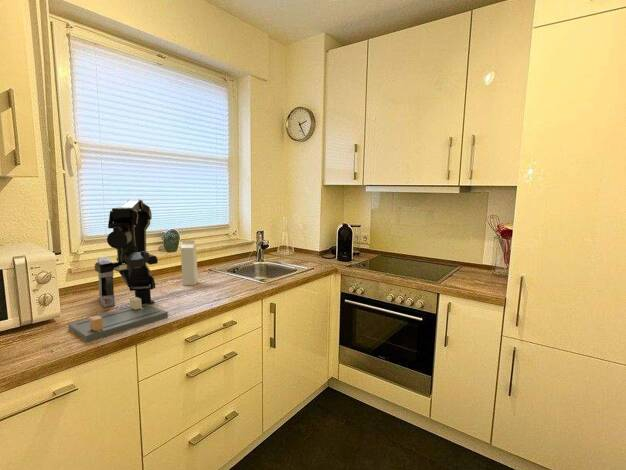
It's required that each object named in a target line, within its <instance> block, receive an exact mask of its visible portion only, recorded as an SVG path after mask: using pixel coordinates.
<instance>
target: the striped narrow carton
mask: <svg viewBox="0 0 626 470" xmlns="http://www.w3.org/2000/svg"><path fill="white" fill-rule="evenodd" d="M103 261H110V262H112V261H111V257H110V256H102V257H101V256H100V257H97V262H103ZM97 274H98V292H99V294H98V296H99V300H100V304H101V307H102V308H110V307H114V306H115V305H116V303H115V293H114V292H115V291H114V289H115V288H114V287H115V286H114V270H113V271H112V272H107V273H99V272H97Z"/></svg>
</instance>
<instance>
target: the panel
mask: <svg viewBox="0 0 626 470" xmlns="http://www.w3.org/2000/svg"><path fill="white" fill-rule="evenodd" d="M168 313H169V312H168V311H166V310H164V309H161V308H159V307H156V306H154V305H152V304H147V303H146V304H142V308H139V309H136V310H135V309H133V308H131V307H127V308H125V309H124V308H123V309H120V310H116V311H112V312H108V313H104V314H100V315H99V316H100V317H101V318H102V319H103V329H100V330H97V331H94V330H92V329H91V328H90V323H89V317H88V318H86V319H81V320H78V321H77V320H76V321H73V322H69V323H68V324H67V325H68V331H70V332H71V333H73V334H75V335H76V336H77V337H78V338H79V339H81V340H83V341H84V342H85V343H88V342H92V341H95V340H98V339H102V338H104V337H108V336H112V335H114V334H118V333H122V332H125V331H127V330H132V329H134V328H138V327H141V326H144V325H148V324H150V323H153V322H157V321H160V320H164V319H167V318H168V317H169V316H168V315H169V314H168Z"/></svg>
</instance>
